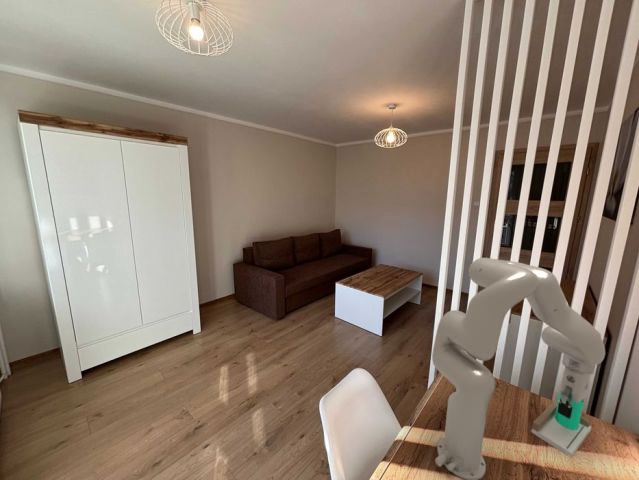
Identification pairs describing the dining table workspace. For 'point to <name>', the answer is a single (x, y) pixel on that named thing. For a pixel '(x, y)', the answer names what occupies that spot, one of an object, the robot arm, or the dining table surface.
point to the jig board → (560, 431)
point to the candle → (575, 415)
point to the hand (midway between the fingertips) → (569, 409)
